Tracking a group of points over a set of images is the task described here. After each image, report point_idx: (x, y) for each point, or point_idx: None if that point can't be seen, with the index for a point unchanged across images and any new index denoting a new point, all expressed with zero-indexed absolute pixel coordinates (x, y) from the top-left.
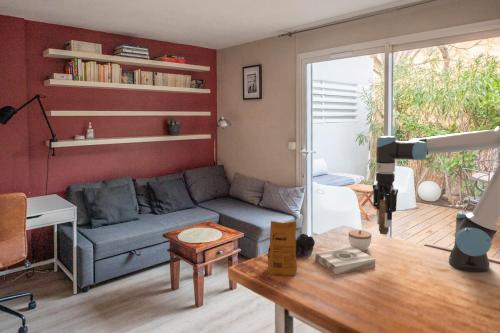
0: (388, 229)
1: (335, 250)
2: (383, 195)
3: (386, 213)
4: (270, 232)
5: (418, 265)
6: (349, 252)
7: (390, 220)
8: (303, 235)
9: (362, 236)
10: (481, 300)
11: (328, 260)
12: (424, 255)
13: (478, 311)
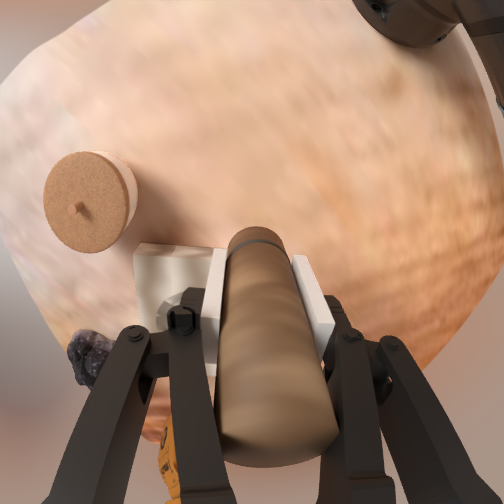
0: (282, 245)
1: (148, 323)
2: (228, 485)
3: (319, 358)
4: (168, 486)
5: (335, 114)
6: (179, 300)
7: (314, 282)
8: (90, 388)
9: (118, 225)
10: (493, 185)
11: (210, 373)
12: (280, 20)
13: (495, 229)
